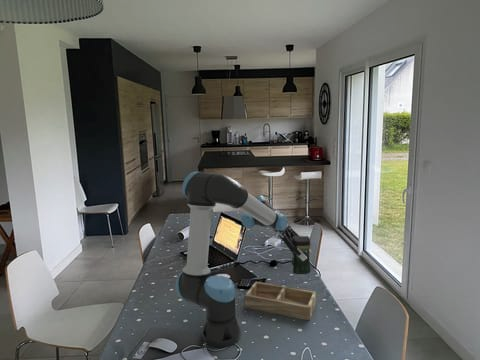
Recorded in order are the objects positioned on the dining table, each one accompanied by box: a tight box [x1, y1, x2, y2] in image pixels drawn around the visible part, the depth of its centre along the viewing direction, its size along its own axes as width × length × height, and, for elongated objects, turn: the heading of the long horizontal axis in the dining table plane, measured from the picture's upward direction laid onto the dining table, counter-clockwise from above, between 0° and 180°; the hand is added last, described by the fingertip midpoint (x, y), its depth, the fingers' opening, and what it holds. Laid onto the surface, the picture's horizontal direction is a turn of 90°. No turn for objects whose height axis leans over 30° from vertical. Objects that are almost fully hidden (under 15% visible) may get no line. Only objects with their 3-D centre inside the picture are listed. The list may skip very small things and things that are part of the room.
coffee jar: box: [290, 235, 311, 275], centre depth 179 cm, size 10×8×19 cm
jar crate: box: [244, 281, 317, 321], centre depth 164 cm, size 14×30×6 cm, turn 68°
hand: (307, 256), depth 178 cm, fingers closed on coffee jar, 8 cm apart
